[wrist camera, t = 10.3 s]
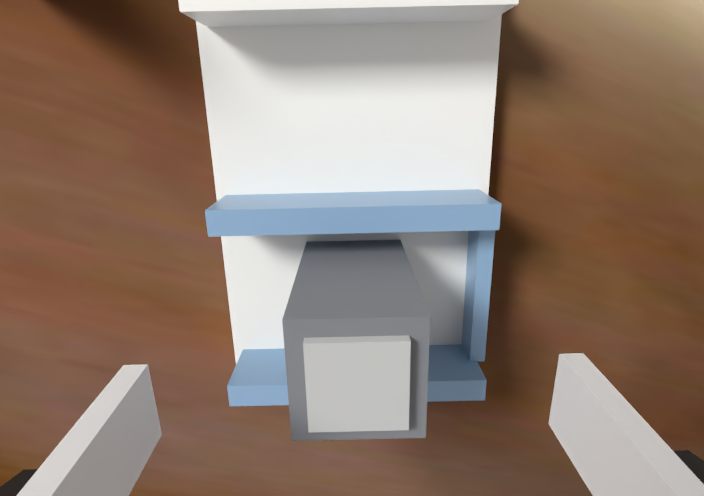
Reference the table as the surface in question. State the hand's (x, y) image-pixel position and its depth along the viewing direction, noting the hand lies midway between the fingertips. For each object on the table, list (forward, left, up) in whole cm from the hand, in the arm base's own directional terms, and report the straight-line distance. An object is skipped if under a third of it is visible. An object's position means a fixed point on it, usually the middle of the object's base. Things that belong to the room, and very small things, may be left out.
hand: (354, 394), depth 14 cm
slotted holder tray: (-9, 0, -11) cm, 14 cm away
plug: (0, 0, -10) cm, 10 cm away
